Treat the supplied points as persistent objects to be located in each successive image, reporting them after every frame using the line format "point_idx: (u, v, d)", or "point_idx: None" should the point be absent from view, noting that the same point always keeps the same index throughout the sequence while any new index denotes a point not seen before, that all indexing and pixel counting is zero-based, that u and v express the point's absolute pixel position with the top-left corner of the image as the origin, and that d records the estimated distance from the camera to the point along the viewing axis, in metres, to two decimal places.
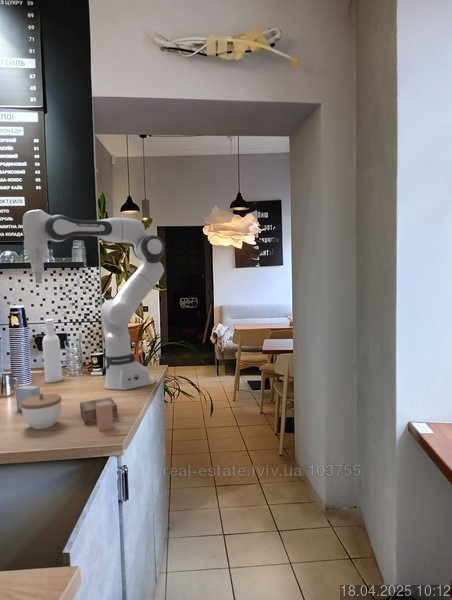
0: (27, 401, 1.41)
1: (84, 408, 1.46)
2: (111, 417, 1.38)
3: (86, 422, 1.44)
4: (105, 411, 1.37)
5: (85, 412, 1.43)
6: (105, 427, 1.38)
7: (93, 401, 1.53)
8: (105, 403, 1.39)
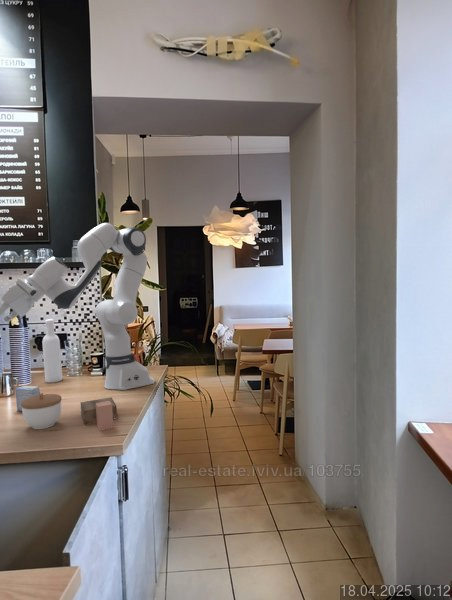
0: (27, 401, 1.41)
1: (84, 408, 1.46)
2: (111, 417, 1.38)
3: (85, 422, 1.44)
4: (105, 411, 1.37)
5: (84, 412, 1.43)
6: (105, 427, 1.38)
7: (93, 401, 1.53)
8: (105, 403, 1.39)
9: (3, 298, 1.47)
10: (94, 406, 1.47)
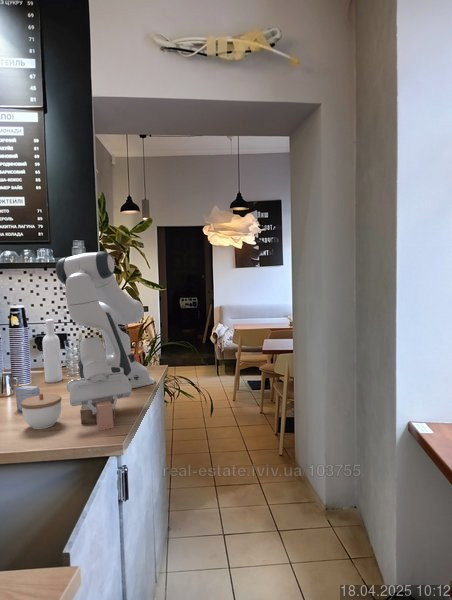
0: (27, 401, 1.41)
1: (82, 407, 1.47)
2: (111, 417, 1.38)
3: (82, 421, 1.44)
4: (105, 411, 1.37)
5: (81, 411, 1.44)
6: (105, 427, 1.38)
7: None
8: (105, 403, 1.39)
9: (131, 391, 1.46)
10: None
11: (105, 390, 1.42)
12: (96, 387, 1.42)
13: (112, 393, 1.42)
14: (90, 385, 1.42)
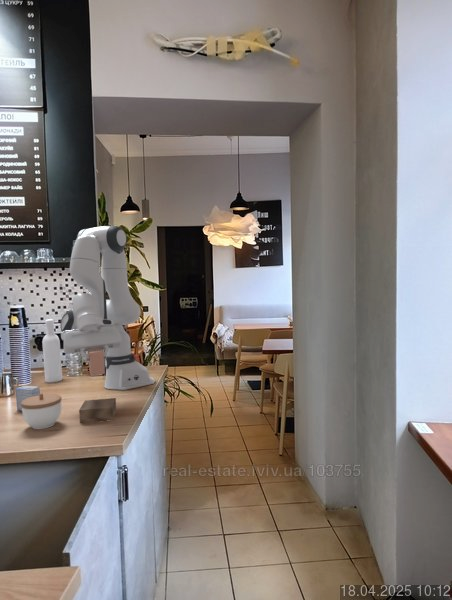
0: (27, 401, 1.41)
1: (82, 407, 1.47)
2: (102, 363, 1.48)
3: (81, 421, 1.44)
4: (96, 357, 1.47)
5: (80, 411, 1.44)
6: (97, 372, 1.47)
7: (96, 400, 1.54)
8: (97, 351, 1.49)
9: (121, 341, 1.55)
10: (92, 406, 1.48)
11: (97, 339, 1.52)
12: (88, 337, 1.52)
13: (103, 342, 1.52)
14: (83, 335, 1.52)
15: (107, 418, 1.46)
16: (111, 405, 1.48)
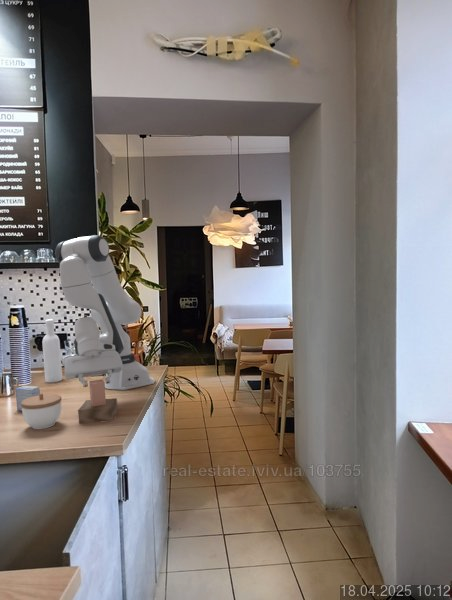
0: (27, 401, 1.41)
1: (81, 407, 1.47)
2: (104, 394, 1.49)
3: (80, 421, 1.45)
4: (98, 388, 1.48)
5: (79, 411, 1.45)
6: (98, 403, 1.48)
7: None
8: (98, 381, 1.50)
9: (122, 366, 1.56)
10: (92, 406, 1.48)
11: (97, 364, 1.53)
12: (89, 362, 1.52)
13: (104, 367, 1.53)
14: (84, 360, 1.53)
15: (105, 418, 1.45)
16: (110, 406, 1.47)
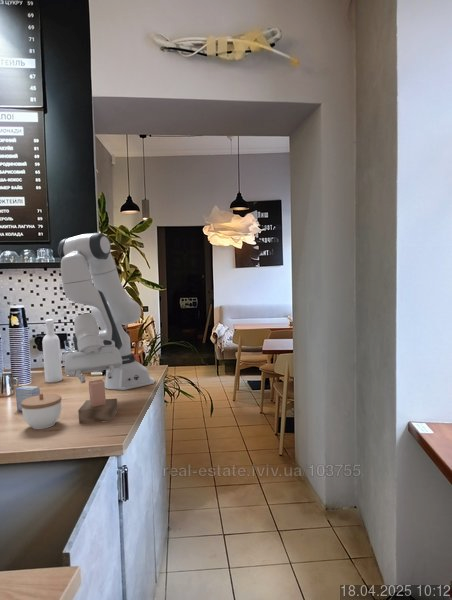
0: (27, 401, 1.41)
1: (81, 407, 1.47)
2: (103, 394, 1.49)
3: (80, 421, 1.45)
4: (98, 388, 1.48)
5: (79, 411, 1.44)
6: (98, 403, 1.48)
7: None
8: (98, 381, 1.50)
9: (121, 362, 1.57)
10: (92, 406, 1.48)
11: (97, 360, 1.54)
12: (89, 358, 1.54)
13: (104, 363, 1.54)
14: (84, 356, 1.54)
15: (105, 418, 1.45)
16: (110, 406, 1.47)
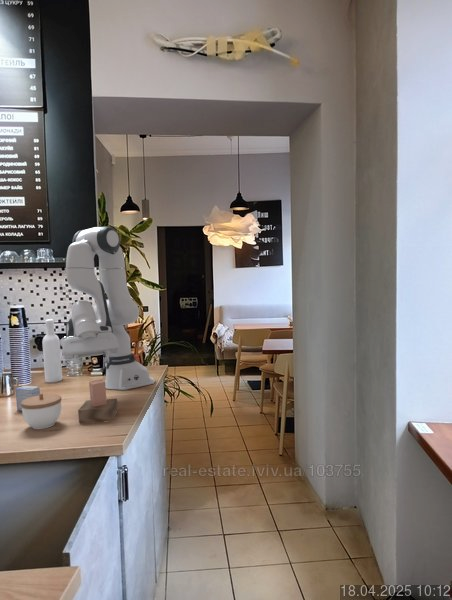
0: (27, 401, 1.41)
1: (81, 407, 1.47)
2: (104, 394, 1.49)
3: (80, 421, 1.45)
4: (98, 388, 1.48)
5: (79, 411, 1.44)
6: (99, 403, 1.48)
7: None
8: (98, 381, 1.50)
9: (118, 347, 1.61)
10: (92, 406, 1.47)
11: (94, 345, 1.58)
12: (86, 343, 1.58)
13: (101, 348, 1.58)
14: (81, 341, 1.58)
15: (105, 418, 1.45)
16: (110, 406, 1.47)
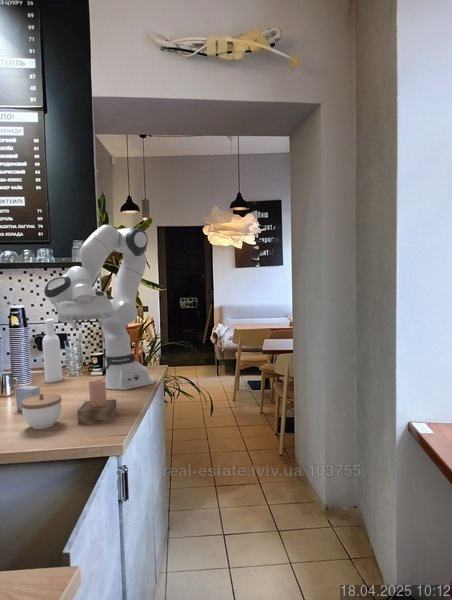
0: (27, 401, 1.41)
1: (80, 408, 1.46)
2: (104, 394, 1.49)
3: (79, 422, 1.44)
4: (99, 389, 1.48)
5: (78, 412, 1.43)
6: (99, 404, 1.48)
7: None
8: (98, 381, 1.49)
9: (113, 312, 1.63)
10: (91, 407, 1.47)
11: (89, 309, 1.60)
12: (82, 306, 1.60)
13: (96, 312, 1.60)
14: (77, 305, 1.60)
15: (105, 419, 1.44)
16: (109, 407, 1.46)
